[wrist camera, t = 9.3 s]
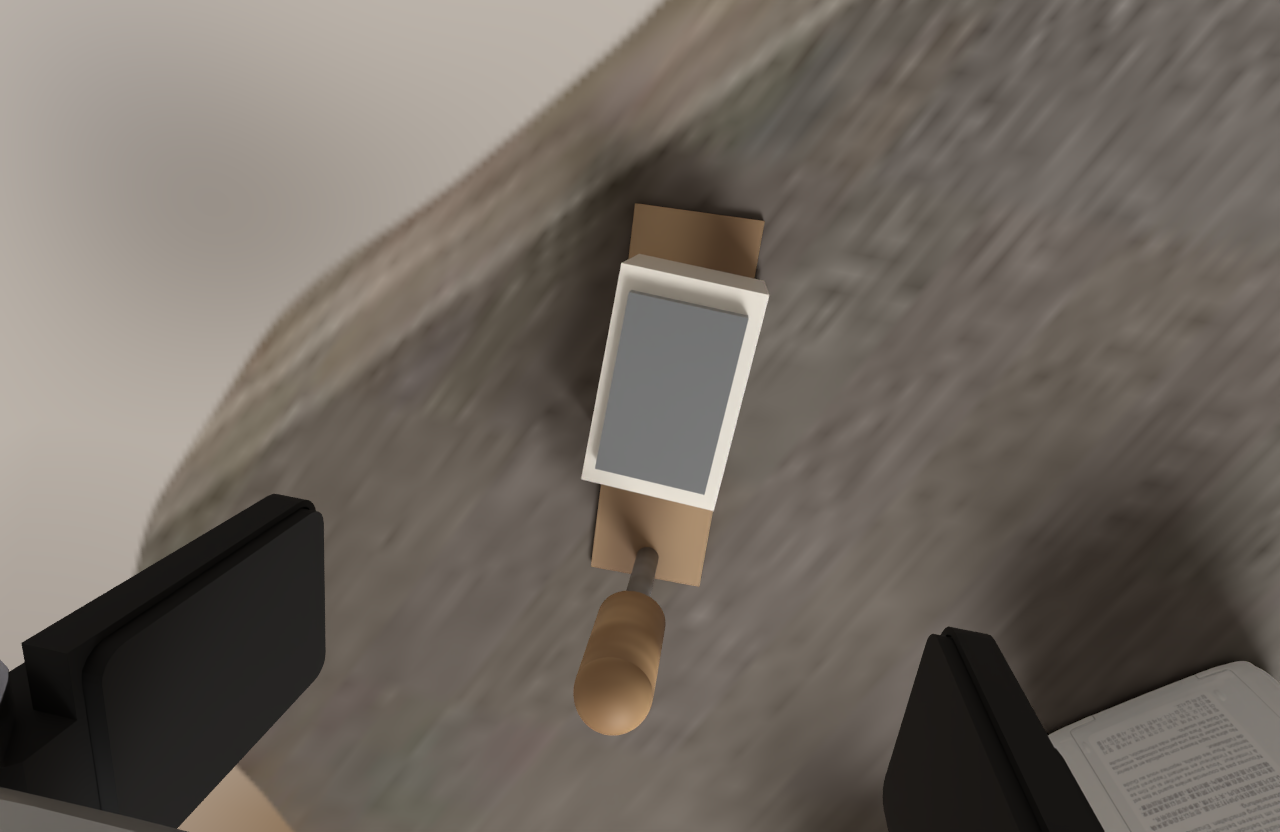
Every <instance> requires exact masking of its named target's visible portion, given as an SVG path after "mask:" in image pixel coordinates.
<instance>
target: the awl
mask: <svg viewBox="0 0 1280 832" xmlns="http://www.w3.org/2000/svg"><path fill="white" fill-rule="evenodd" d="M658 559H659V556H658V553H657V552H656V551H655V550H654V549H653V548H650V547H644V548H641V549H640V550H639V551H638V553H637V555H636V559H635V562H634V566H633V569H632V573H631V576H630V580H629V583H628V587H627V590H626V591H621V592H618V593H615V594H613V595H611V596H609V597H608V598H607V599H606V600H605V601H604V602H603V603H602V605H601V607H600V609H599V612H598V615H597V618H596V621H595V624H594V627H593V629H592V632H591V635H590V638H589V641H588V644H587V647H586V650H585V653H584V656H583V659H582V662H581V665H580V668H579V671H578V674H577V677H576V680H575V684H574V702H575V706H576V709H577V711H578V714H579V715H580V717H581V718H582V720H583V721H584V722H585V723H586V724H587V725H588V726H589V727H590V728H592V729H593V730H595V731H597V732H599V733H601V734H605V735H621V734H624V733H627V732H629V731H631V730H633V729H635V728H636V727H637V726H638V725H640V724H641V723H642V721H643V720H644V719H645V718H646V716H647V714H648V712H649V710H650V708H651V705H652V701H653V695H654V690H655V684H656V678H657V672H658V666H659V660H660V654H661V649H662V643H663V637H664V631H665V616H664V613H663V611H662V609H661V608H660V606H659V605H658V604H657V603H656V601H654V600H653V599H652V598H650V596H651V591H652V587H653V582H654V578H655V573H656V568H657V564H658Z"/></svg>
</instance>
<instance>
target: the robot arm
mask: <svg viewBox="0 0 1280 832" xmlns="http://www.w3.org/2000/svg"><path fill="white" fill-rule="evenodd" d="M22 649H23V655H24V660H25V662H24V663H23V664H21V665H20V666H18V667H16V668H15V669H13V670H12V671H10V672H9V669H8V668H7V666H6V665H5V664H4V663H3V662H2V661H1V660H0V832H187V831H183V830H179V829H177V828H178V827H179V826H180V825H181V824H182V823H183V822H184V820H185V819H186V818H187V817H188V816H189V815H190V814H191V813H192V812H193V811H194V810H195V808H197V806H198V805H199V804H200V803H201V802H202V801H203V800H204V799H205V798H206V797H207V796H208V795H209V793H210V792H211V791H212V790H213V789H214V788H215V787H216V786H217V785H218V784H219V783H220V782H221V781H222V779H223V778H224V777H225V776H226V775H227V774H228V773H229V772H230V771H231V770H232V769H233V768H234V767H235V765H236V764H237V763H238V762H239V761H240V760H241V759H242V758H243V757H244V756H245V755H246V754H247V753H248V751H249V750H250V749H251V748H252V747H253V746H254V745H255V744H256V743H257V742H258V741H259V740H260V738H261V737H262V736H263V735H264V734H265V733H266V732H267V731H268V730H269V729H270V728H271V727H272V726H273V724H274V723H275V722H276V721H277V720H278V719H279V718H280V717H281V716H282V715H283V714H284V713H285V711H286V710H287V709H288V708H289V707H290V706H291V705H292V704H293V703H294V702H295V701H296V700H297V699H298V697H299V696H300V695H301V694H302V693H303V692H304V691H305V690H306V689H307V688H308V687H309V686H310V684H311V683H312V682H313V681H314V680H315V679H316V678H317V676H318V675H319V673H320V671H321V669H322V667H323V664H324V660H325V585H324V522H323V517H322V514H321V513H319V512H317V511H316V510H315V507H314V505H313V503H312V502H311V501H309V500H304V499H299V498H294V497H289V496H284V495H279V494H272V495H269V496H267V497H265V498H264V499H262V500H260V501H259V502H257V503H255V504H254V505H252V506H250V507H249V508H247V509H245V510H244V511H242V512H240V513H239V514H237V515H235V516H234V517H232V518H230V519H229V520H227V521H225V522H224V523H222V524H220V525H218V526H217V527H215V528H213V529H212V530H210V531H208V532H207V533H205V534H203V535H202V536H200V537H198V538H197V539H195V540H193V541H192V542H190V543H188V544H187V545H185V546H183V547H182V548H180V549H178V550H177V551H175V552H173V553H172V554H170V555H168V556H166V557H165V558H163V559H161V560H160V561H158V562H156V563H155V564H153V565H151V566H150V567H148V568H146V569H145V570H143V571H141V572H140V573H138V574H136V575H135V576H133V577H131V578H130V579H128V580H126V581H125V582H123V583H121V584H120V585H118V586H116V587H115V588H113V589H111V590H110V591H108V592H107V593H105V594H103V595H101V596H99V597H98V598H96V599H94V600H93V601H91V602H89V603H88V604H86V605H84V606H83V607H81V608H79V609H78V610H76V611H74V612H73V613H71V614H69V615H68V616H66V617H64V618H63V619H61V620H59V621H57V622H56V623H54V624H52V625H51V626H49V627H47V628H46V629H44V630H42V631H41V632H39V633H37V634H36V635H34V636H32V637H31V638H29V639H27V640H26V641H24V642H22ZM883 807H884V812H885V817H886V821H887V826H888V831H889V832H1105V831H1104V829H1103V827H1102V825H1101V824H1100V822H1099V820H1098V818H1097V817H1096V815H1095V813H1094V811H1093V809H1092V808H1091V806H1090V804H1089V802H1088V801H1087V799H1086V797H1085V795H1084V793H1083V792H1082V790H1081V788H1080V786H1079V785H1078V783H1077V781H1076V779H1075V777H1074V776H1073V774H1072V772H1071V770H1070V769H1069V767H1068V765H1067V763H1066V761H1065V760H1064V758H1063V757H1062V755H1061V754H1060V753H1059V751H1058V750H1057V749H1056V748H1054V746H1053V744H1052V742H1051V741H1050V739H1049V737H1048V735H1047V733H1046V732H1045V730H1044V728H1043V726H1042V724H1041V723H1040V721H1039V719H1038V717H1037V716H1036V714H1035V712H1034V710H1033V708H1032V707H1031V705H1030V703H1029V701H1028V699H1027V698H1026V696H1025V694H1024V692H1023V690H1022V689H1021V687H1020V685H1019V683H1018V681H1017V680H1016V678H1015V676H1014V674H1013V672H1012V671H1011V669H1010V667H1009V665H1008V663H1007V662H1006V660H1005V658H1004V656H1003V654H1002V653H1001V651H1000V649H999V647H998V645H997V644H996V642H995V640H994V639H993V638H992V636H991V635H988V634H983V633H978V632H973V631H968V630H963V629H958V628H953V627H947V628H945V629H944V631H943V632H942V634H941V635H936V634H932V635H930V636H929V638H928V640H927V642H926V645H925V648H924V652H923V655H922V658H921V662H920V665H919V668H918V671H917V675H916V678H915V681H914V684H913V688H912V691H911V694H910V698H909V701H908V704H907V707H906V711H905V714H904V717H903V721H902V724H901V727H900V730H899V734H898V737H897V740H896V744H895V747H894V750H893V753H892V757H891V760H890V763H889V766H888V770H887V773H886V776H885V780H884V786H883Z"/></svg>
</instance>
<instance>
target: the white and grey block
mask: <svg viewBox="0 0 1280 832" xmlns="http://www.w3.org/2000/svg"><path fill="white" fill-rule="evenodd" d="M768 298H769V293H768V290H767V287H766V284H765V281H763V280H758V279H754V278H749V277H744V276H740V275H735V274H731V273H726V272H721V271H717V270H712V269H707V268H703V267H698V266H694V265H689V264H684V263H680V262H675V261H671V260H666V259H661V258H657V257H652V256H647V255H643V254H638V255H636V256H634V257H632V258H630V259H628V260H626V261H624V262H622V263H621V268H620V273H619V279H618V284H617V289H616V295H615V300H614V306H613V311H612V316H611V322H610V327H609V332H608V338H607V343H606V349H605V354H604V359H603V365H602V370H601V375H600V381H599V386H598V392H597V397H596V402H595V408H594V413H593V418H592V424H591V429H590V435H589V440H588V445H587V451H586V456H585V461H584V467H583V472H582V478H581V479H582V480H586V481H590V482H595V483H599V484H603V485H607V486H611V487H615V488H619V489H624V490H628V491H632V492H636V493H640V494H644V495H649V496H653V497H657V498H661V499H665V500H669V501H674V502H678V503H682V504H686V505H690V506H694V507H698V508H703V509H707V510H711V511H714V508H715V504H716V500H717V496H718V493H719V489H720V485H721V481H722V477H723V473H724V469H725V465H726V461H727V458H728V454H729V450H730V446H731V442H732V438H733V434H734V430H735V426H736V423H737V419H738V415H739V411H740V407H741V403H742V399H743V395H744V392H745V388H746V384H747V380H748V376H749V372H750V368H751V364H752V360H753V357H754V353H755V349H756V345H757V341H758V337H759V333H760V329H761V325H762V322H763V318H764V314H765V310H766V306H767V302H768Z"/></svg>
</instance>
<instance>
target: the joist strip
mask: <svg viewBox="0 0 1280 832" xmlns="http://www.w3.org/2000/svg"><path fill="white" fill-rule="evenodd" d="M764 222H765V221H761V220H753V219H746V218H739V217H732V216H724V215H717V214H710V213H703V212H695V211H688V210H681V209H674V208H666V207H659V206H652V205H645V204H637V203H635V209H634V217H633V225H632V233H631V242H630V250H629V258H628V259H630V258H632V257H634V256H636V255H638V254H643V255H647V256H652V257H657V258H661V259H666V260H671V261H675V262H680V263H684V264H689V265H694V266H698V267H703V268H707V269H712V270H717V271H721V272H726V273H731V274H735V275H740V276H744V277H749V278H755V272H756V267H757V261H758V256H759V250H760V245H761V239H762V233H763V228H764ZM712 513H713V511H711V510H707V509H703V508H698V507H694V506H690V505H686V504H682V503H678V502H674V501H669V500H665V499H661V498H657V497H653V496H649V495H644V494H640V493H636V492H632V491H628V490H624V489H619V488H615V487H611V486H607V485H603V484H601V488H600V496H599V505H598V513H597V521H596V529H595V537H594V546H593V554H592V562H591V567H597V568H602V569H608V570H613V571H618V572H624V573H629V574H631V573H632V569H633V566H634V562H635V559H636V555H637V553H638V551H639V550H640V549H641V548H644V547H650V548H653V549H654V550H655V551H656V552H657V553H658V556H659V559H658V564H657V568H656V573H655V578H656V579H661V580H666V581H672V582H677V583H683V584H688V585H693V586H699V585H700V580H701V574H702V568H703V563H704V557H705V552H706V546H707V540H708V535H709V529H710V524H711V518H712Z"/></svg>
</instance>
